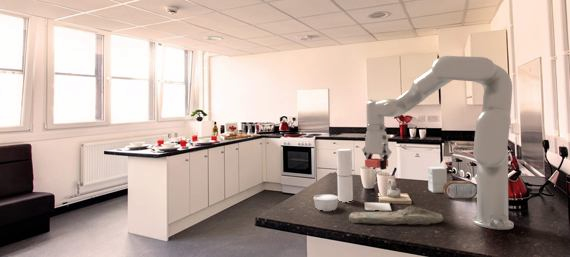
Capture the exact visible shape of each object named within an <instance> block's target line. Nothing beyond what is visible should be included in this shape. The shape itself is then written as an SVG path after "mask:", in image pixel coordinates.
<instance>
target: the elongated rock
mask: <svg viewBox="0 0 570 257" xmlns="http://www.w3.org/2000/svg"><path fill="white" fill-rule="evenodd" d="M348 215H349V216H348V221H349V222H350V223H352V224H370V225H371V224H373V225H374V224H375V225H412V226H413V225H430V224H437V223H442V222H443V219H444V217H443V215H442V214H441V213H438V212H434V211H431V210H429V209H427V208H421V207H415V206H414V205H409V206H406V207H405V208H403V209H398V210H395V211H354V212H351V213H350V214H348Z"/></svg>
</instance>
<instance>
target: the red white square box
mask: <svg viewBox="0 0 570 257" xmlns="http://www.w3.org/2000/svg"><path fill="white" fill-rule="evenodd" d="M380 160H381V158H377V157H374V158H373V159H366V158H365V159H364V166H365V167H366V168H368V167H369V168H373V169H380ZM387 167H389V159H387V160H386V168H387Z"/></svg>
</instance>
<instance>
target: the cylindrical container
mask: <svg viewBox="0 0 570 257" xmlns="http://www.w3.org/2000/svg"><path fill="white" fill-rule="evenodd" d="M352 152H353V150H352V149H350V148H340V149H336V168H337V169H336V171H337V172H336V174H337V176H336V177H337V196H338V200H339V201H342V202H341V203H345V202H347V203H350V202H349V201H352V200H353V201H354V194H353V193H354V192H353V190H354V188H353V160H352V159H353V156H352ZM339 201H338V202H339ZM353 201H352V202H353Z"/></svg>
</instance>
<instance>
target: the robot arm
mask: <svg viewBox="0 0 570 257" xmlns="http://www.w3.org/2000/svg"><path fill="white" fill-rule="evenodd" d="M452 81H464V82H474V83H477V84H481V86H482V87H483V95H482V96H483V97H482V108H481V112H480V113H479V114H478V116H477V119H476V122H475V131H474V141H473V149H472V150H473V152H472V153H473V157H474V159H475V161H476V186H477V194H476V216H473V217H472V219H471V221H472V223H473V224H475V225H476V226H479V227H483V228H484V229H485V228H487V229H491V230H498V231H500V230H501V231H502V230H503V231H504V230H511V229H513V228H514V227H515V226H514V222H513V221H511V220H509V149H508V145H509V137H510V128H511V124H512V123H511V122H512V121H511V120H512V118H511V113H512V112H511V110H512V98H513V84H512V83H513V82H512V78H511V77H510V74H509V72H507V71H506V70H505V68H503V67H501V66H500V65H498V64H496V63H495V62H493V61H492V60H491V59H489V58H488V57H483V56H460V55H458V56H457V55H443V56H439V57H438V58H437V59H436V60H434V62H433V64H432V66H431V68H429V69H428V70H427V71H425V72H424V73H422V74H421V75H420V76H418V77H417V78H415V79H414V80H413V82H412V85H411V86H410V88H409V89H408V90H407V91H406V92H404V93H403V94H402V95H400V96H399V97H397V98H395V99H394V98H393V99H391V98H389V99H384V100H371V101H367V102H366V105H365V106H366V132H365V139H364V147H363V148H362V150H361V151H362V153H363V155H364V156H365V160H366V159H374V158H373V155H379V157H380V158H379V159H381V160H380V168H379V169H380V170H382V171H383V170H387V167H386V160H389V158H390V156H391V155H392V153H393V152H392V150H390V148H389V139H388V134H387V132H386V129H387V127H386V126H385V117H387V118H389V117H390V118H394V117H401V116H402V115H404V114H406V113H408V112H409V111H410V110H412V109H414V108H415V107H416V106H418V105H419V104H421V103H423V101H425V100H426V99H427V98H428V97H429V96H431V95H432V94H434V93H436V91H438V90H441V88H443V87H445V86H446V85H448V84H449V83H451V82H452ZM367 168H370V167H367Z"/></svg>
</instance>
